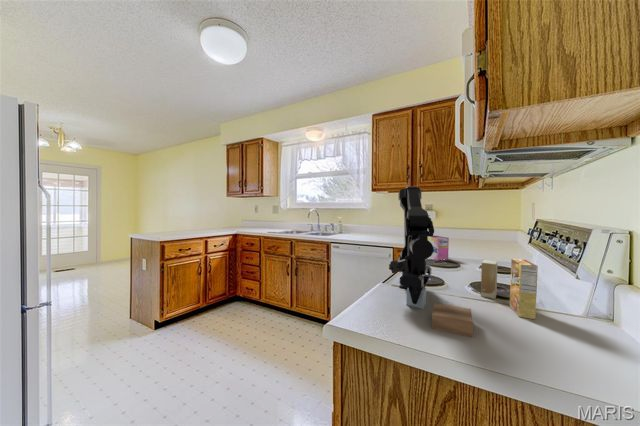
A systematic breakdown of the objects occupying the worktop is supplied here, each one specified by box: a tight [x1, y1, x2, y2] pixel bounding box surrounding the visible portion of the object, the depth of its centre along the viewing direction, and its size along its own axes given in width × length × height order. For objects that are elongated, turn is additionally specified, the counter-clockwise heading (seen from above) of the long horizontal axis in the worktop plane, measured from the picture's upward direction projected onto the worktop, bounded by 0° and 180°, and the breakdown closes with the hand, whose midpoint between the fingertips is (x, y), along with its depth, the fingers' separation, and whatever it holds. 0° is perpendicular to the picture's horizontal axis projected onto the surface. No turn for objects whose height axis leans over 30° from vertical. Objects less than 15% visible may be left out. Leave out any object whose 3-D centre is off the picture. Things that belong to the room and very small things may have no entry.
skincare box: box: [480, 259, 498, 300], centre depth 89 cm, size 6×4×12 cm
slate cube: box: [405, 287, 427, 310], centre depth 81 cm, size 5×5×5 cm
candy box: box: [509, 258, 539, 320], centre depth 75 cm, size 9×4×15 cm, turn 157°
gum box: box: [428, 234, 450, 261], centre depth 160 cm, size 24×8×14 cm, turn 16°
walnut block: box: [431, 302, 474, 338], centre depth 66 cm, size 9×9×4 cm
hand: (416, 301), depth 81 cm, fingers closed on slate cube, 5 cm apart
